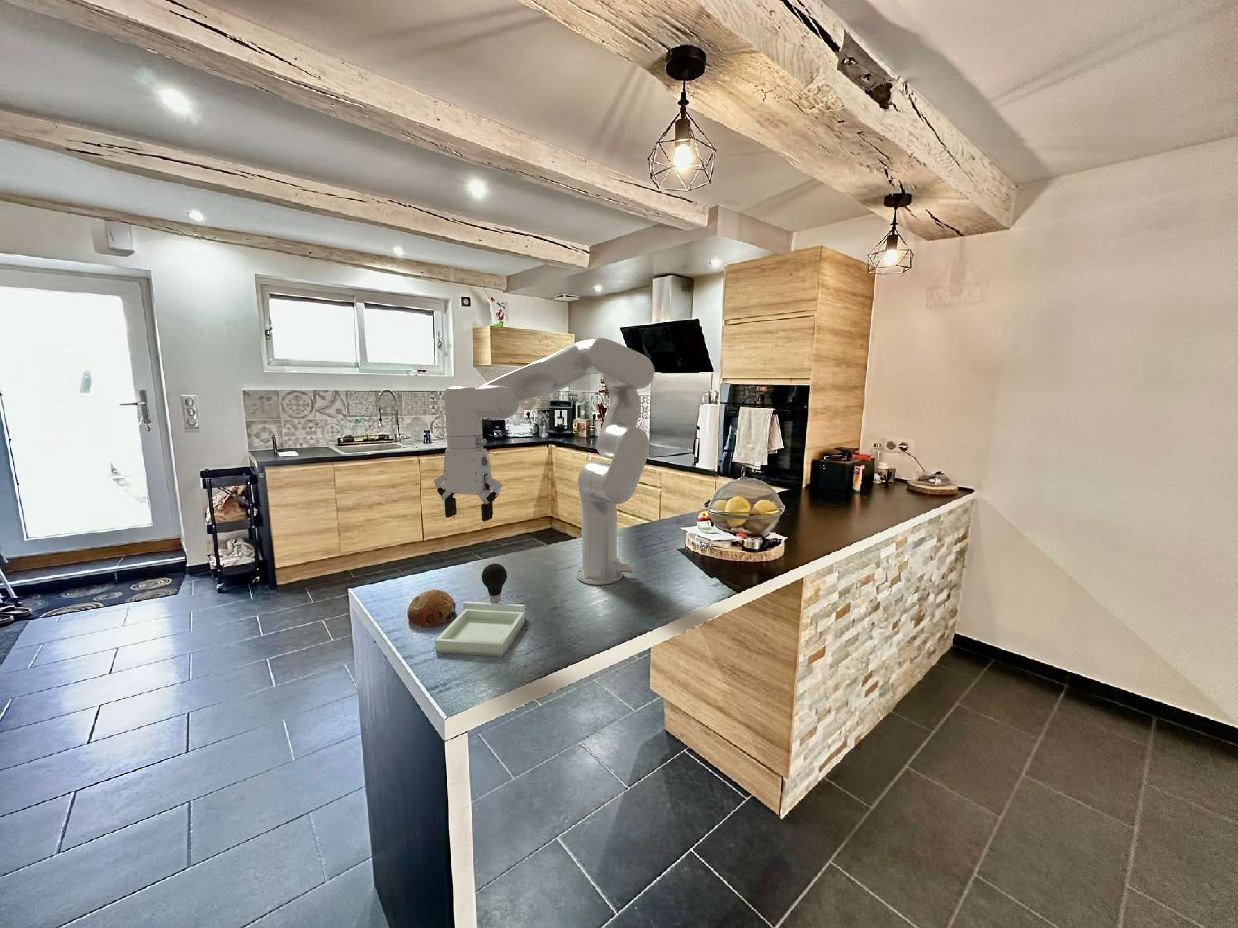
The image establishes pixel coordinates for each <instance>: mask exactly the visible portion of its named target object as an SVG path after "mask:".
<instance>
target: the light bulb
mask: <svg viewBox="0 0 1238 928" xmlns="http://www.w3.org/2000/svg"><path fill="white" fill-rule="evenodd" d="M507 579H508V573H507V570H506V568H505V567H504V566H503V565H502V564H500V563H490V564H488V565H486V566H485V567H484V569H483V570H482V572H481V581H482V583H483V585H484V586H485V587H486V588H487V591H488V592H487V593H488V595H489V603H500V602H501V600H502V599H501V597H502V596H501V593H502V590H503V586H504V585H505V583H506V581H507Z"/></svg>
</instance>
